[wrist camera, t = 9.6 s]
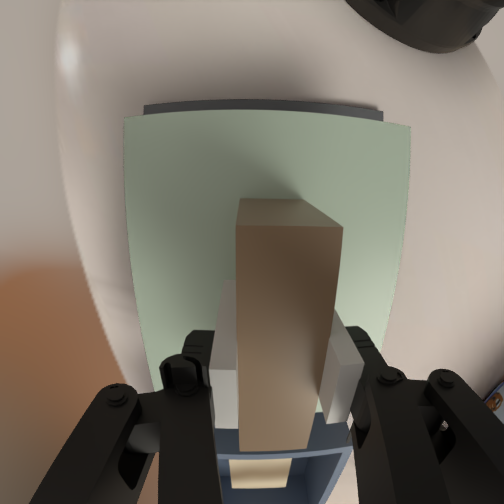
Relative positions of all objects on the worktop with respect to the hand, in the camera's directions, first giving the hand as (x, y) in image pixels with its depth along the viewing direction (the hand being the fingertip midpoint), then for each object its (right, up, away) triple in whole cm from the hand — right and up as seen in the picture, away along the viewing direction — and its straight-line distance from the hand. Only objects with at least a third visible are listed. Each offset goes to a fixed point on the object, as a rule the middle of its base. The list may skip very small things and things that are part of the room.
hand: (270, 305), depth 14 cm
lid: (0, +1, +3) cm, 3 cm away
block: (0, -19, +13) cm, 23 cm away
